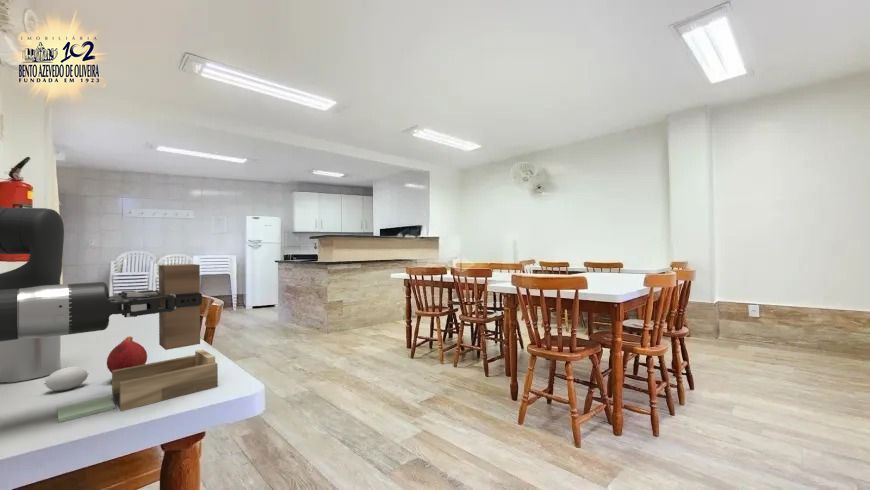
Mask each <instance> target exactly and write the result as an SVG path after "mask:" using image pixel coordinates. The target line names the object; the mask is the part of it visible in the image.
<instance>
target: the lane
mask: <svg viewBox="0 0 870 490" xmlns="http://www.w3.org/2000/svg"><path fill="white" fill-rule="evenodd" d="M194 353H195V354H192V355H187V356H182V357H177V358H171V359H166V360H161V361H155V362H151V363H145V364H144V365H139V366H133V367H128V368H123V369H118V370H112V373H111V395H112V396H113V399H114V400H115V403H116V404H117V406H118V408H119V410H120V411H121V412H122V411H123V412H124V411H127V410H131V409H134V408H138V407H142V406H146V405H149V404H154V403H158V402H161V401H166V400H170V399H173V398H178V397H181V396H186V395H189V394H194V393H197V392H201V391H206V390H209V389H212V388H217V386H219V385H218V378H219V376H218V373H219V371H218V362H216V356H215V355H213V354H211V353H210V352H208V351H206V350H204V349H199V350H195V351H194Z"/></svg>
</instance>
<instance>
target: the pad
mask: <svg viewBox="0 0 870 490" xmlns="http://www.w3.org/2000/svg"><path fill="white" fill-rule="evenodd" d="M115 406H116V405H115V403H114V401H113V398H112V397H111V395H106V396H101V397H97V398H92V399H91V398H90V399H88V400H83V401H79V402H75V403H70V404H65V405H60V406H57V407H56V411H57V412H56V413H57V421H58V423H60V422H65V421H69V420H73V419H77V418H81V417H85V416H90V415H94V414H98V413H102V412H106V411H109V410H113V409H116V407H115Z"/></svg>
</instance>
